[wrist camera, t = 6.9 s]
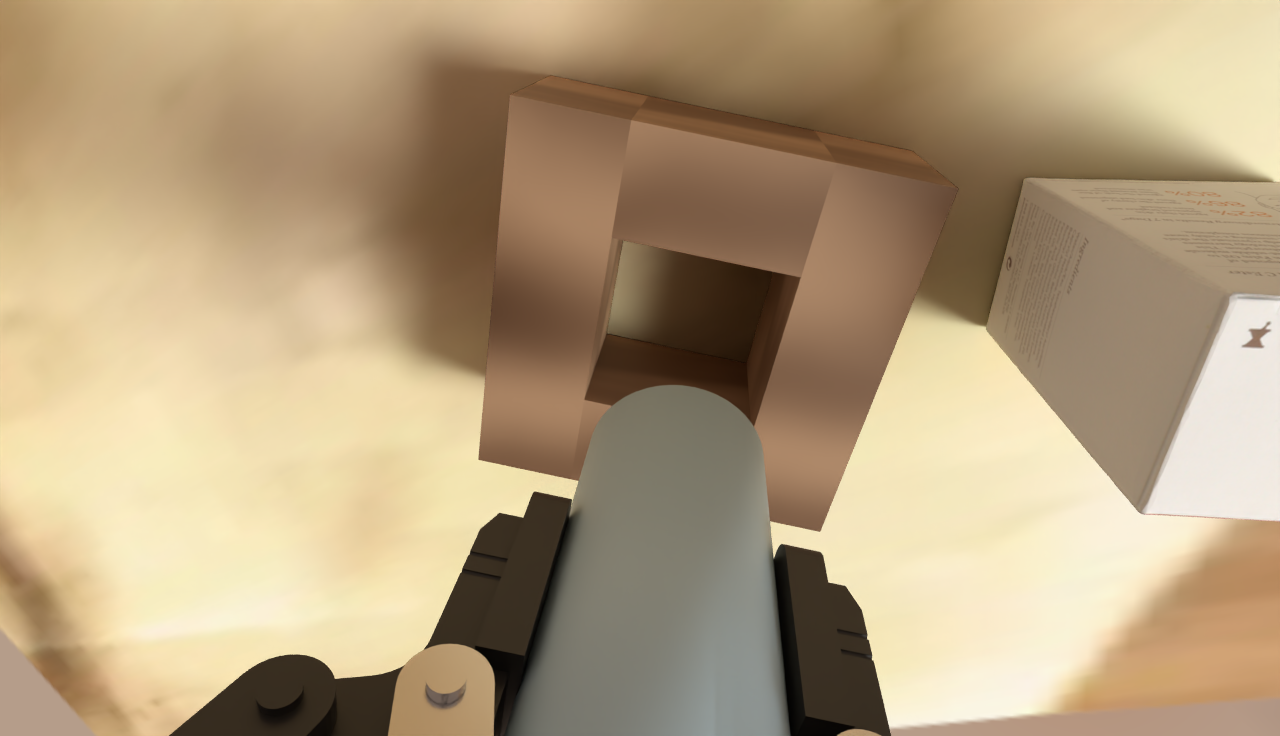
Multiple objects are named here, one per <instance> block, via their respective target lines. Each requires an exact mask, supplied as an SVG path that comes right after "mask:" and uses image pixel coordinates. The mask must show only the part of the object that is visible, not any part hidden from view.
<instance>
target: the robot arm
mask: <svg viewBox="0 0 1280 736" xmlns="http://www.w3.org/2000/svg"><path fill="white" fill-rule="evenodd" d="M571 503H572V499H568V498H563V497H558V496H553V495H549V494H544V493H539V492H534V493H533V494H532V497H531V499H530V502H529V505H528V507H527V510H526V512H525V515H524V518H522V517H517V516H512V515H507V514H502V513H499V514H498V515H497V516H495V517H494V518H493V519H492V520H491V521H490V522H488V523H487V524H486V525H485V526H484V527H482V528H481V529H480V531H479V533H478V535H477V538H476V540H475V542H474V544H473V546H472V549H471V551H470V555H468V557H467V560H466V562H465V564H464V566H463V569H462V573H460V575H459V577H458V580H457V582H456V584H455V586H454V589H453V591H452V593H451V595H450V597H449V600H448V602H447V604H446V606H445V608H444V611H443V613H442V615H441V617H440V620H439V622H438V624H437V626H436V628H435V631H434V633H433V635H432V637H431V639H430V641H429V643H428V645H427V646H426V647H425V649H424V650H423V651H421V652H419V653H418V654H416V655H415V656H414V657H412V658H411V659H410V660H409V661H408V662H407V663H406V664H405V665H404V666H402V667H401V668H398V669H396V670H394V671H391V672H388V673H384V674H380V675H373V676H363V677H352V678H341V679H335V678H334V675H333V673H332V671H331V670H330V669H329V668H328V666H327V665H325V664H324V663H323V662H321V661H320V660H318V659H316V658H313V657H310V656H306V655H284V656H278V657H275V658H271V659H268V660H266V661H264V662H261V663H259V664H257V665H256V666H254V667H252V668H251V669H249V670H248V671H246V672H245V673H244V674H242V675H241V676H240V677H239V678H238V679H236V680H235V681H234V682H233V683H232V684H230V685H229V686H228V687H227V688H226V689H224V690H223V691H222V692H221V693H220V694H218V695H217V696H216V697H215V698H214V699H212V700H211V701H210V702H209V703H208V704H206V705H205V706H204V707H203V708H202V709H200V710H199V711H198V712H197V713H196V714H194V715H193V716H192V717H191V718H190V719H188V720H187V721H186V722H185V723H184V724H182V725H181V726H180V727H179V728H178V729H176V730H175V731H174V732H173V733H172V734H170V735H169V736H504V734H505V731H506V727H507V724H508V720H509V717H510V714H511V710H512V707H513V703H514V700H515V697H516V695H517V693H518V691H519V689H520V686H521V682H522V679H523V675H524V672H525V668H526V665H527V661H528V658H529V654H530V651H531V648H532V644H533V641H534V637H535V634H536V630H537V627H538V623H539V620H540V617H541V613H542V610H543V606H544V603H545V599H546V596H547V592H548V589H549V586H550V582H551V579H552V575H553V572H554V568H555V565H556V561H557V558H558V554H559V551H560V548H561V544H562V541H563V537H564V534H565V530H566V527H567V523H568V520H569V515H570V510H571ZM774 569H775V579H776V589H777V600H778V610H779V620H780V631H781V641H782V651H783V662H784V672H785V682H786V693H787V703H788V713H789V724H790V734H791V736H891V733H890V729H889V725H888V721H887V716H886V712H885V708H884V703H883V699H882V695H881V691H880V686H879V682H878V678H877V674H876V669H875V665H874V661H872V652H871V648H870V644H869V640H867V631H866V626H865V622H864V618H863V614H862V610H861V608H860V607H859V605H858V604H857V602H856V601H855V600H854V598H853V597H852V595H851V594H850V592H849V591H848V589H847V588H846V586H842V585H837V584H833V583H828V579H827V574H826V568H825V563H824V558H823V555H822V553H821V552H817V551H813V550H808V549H803V548H798V547H794V546H789V545H784V544H781V545H780V546H779V548H778V550H777V552H776V555H775V557H774Z"/></svg>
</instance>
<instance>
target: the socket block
mask: <svg viewBox="0 0 1280 736" xmlns="http://www.w3.org/2000/svg"><path fill="white" fill-rule="evenodd" d="M958 189H959V188H957V187H956V186H955V185H954V184H952V183H951V182H950V181H949V180H947V179H946V178H945V177H944V176H943V175H941V174H940V173H939V172H938V171H936V170H935V169H934V168H933V167H932V166H930V165H929V164H928V163H927V162H925V161H924V160H923V159H922V158H921V157H919V156H918V155H917V154H916V153H914V152H913V151H910V150H905V149H900V148H895V147H891V146H886V145H881V144H876V143H871V142H867V141H862V140H857V139H852V138H847V137H843V136H838V135H833V134H828V133H824V132H819V131H814V130H809V129H804V128H800V127H795V126H790V125H785V124H780V123H776V122H771V121H766V120H761V119H757V118H752V117H747V116H742V115H737V114H733V113H728V112H723V111H718V110H713V109H709V108H704V107H699V106H694V105H689V104H685V103H680V102H675V101H670V100H666V99H661V98H656V97H651V96H646V95H642V94H637V93H632V92H627V91H622V90H618V89H613V88H608V87H603V86H598V85H594V84H589V83H584V82H579V81H575V80H570V79H565V78H560V77H555V76H549V77H546V78H544V79H542V80H540V81H538V82H536V83H534V84H532V85H530V86H527V87H525V88H523V89H521V90H519V91H517V92H515V93H513V94H511V95H510V100H509V112H508V123H507V135H506V146H505V158H504V170H503V181H502V193H501V204H500V216H499V227H498V239H497V251H496V262H495V274H494V285H493V297H492V309H491V320H490V332H489V343H488V355H487V366H486V378H485V390H484V401H483V413H482V424H481V436H480V448H479V459H478V460H482V461H487V462H492V463H497V464H501V465H506V466H511V467H516V468H520V469H525V470H530V471H535V472H539V473H544V474H549V475H554V476H558V477H563V478H568V479H572V480H577V481H579V478H580V475H581V471H582V468H583V465H584V461H585V458H586V454H587V451H588V448H589V444H590V441H591V437H592V434H593V432H594V430H595V427H596V425H597V424H598V422H599V420H600V419H601V417H602V416H603V415H604V414H605V413H606V411H607V410H608V409H609V408H611V407H612V406H613V405H614V404H615V403H616V402H618V401H619V400H621V399H623V398H624V397H626V396H628V395H630V394H632V393H634V392H636V391H640V390H643V389H646V388H650V387H655V386H663V385H683V386H690V387H696V388H699V389H703V390H706V391H709V392H711V393H714V394H716V395H718V396H720V397H722V398H724V399H726V400H727V401H729V402H730V403H732V404H733V405H734V406H736V407H737V408H738V409H739V410H740V411H741V412H742V413H743V414H745V416H746V417H747V418H748V419H749V421H750V422H751V423H752V425H753V426H754V428H755V430H756V431H757V433H758V436H759V438H760V441H761V444H762V448H763V455H764V465H765V476H766V486H767V496H768V507H769V517H770V521H772V522H776V523H781V524H786V525H791V526H795V527H800V528H805V529H810V530H814V531H819V532H820V531H821V528H822V526H823V523H824V521H825V518H826V516H827V513H828V511H829V508H830V506H831V503H832V501H833V498H834V496H835V494H836V491H837V489H838V486H839V484H840V481H841V479H842V476H843V474H844V471H845V469H846V466H847V464H848V461H849V459H850V456H851V454H852V451H853V449H854V446H855V444H856V441H857V439H858V437H859V434H860V432H861V429H862V427H863V424H864V422H865V419H866V417H867V414H868V412H869V409H870V407H871V404H872V402H873V399H874V397H875V394H876V392H877V389H878V387H879V384H880V382H881V380H882V377H883V375H884V372H885V370H886V367H887V365H888V362H889V360H890V357H891V355H892V352H893V350H894V347H895V345H896V342H897V340H898V337H899V335H900V332H901V330H902V327H903V325H904V323H905V320H906V318H907V315H908V313H909V310H910V308H911V305H912V303H913V300H914V298H915V295H916V293H917V290H918V288H919V285H920V283H921V280H922V278H923V275H924V273H925V270H926V268H927V266H928V263H929V261H930V258H931V256H932V253H933V251H934V248H935V246H936V243H937V241H938V238H939V236H940V233H941V231H942V228H943V226H944V223H945V221H946V218H947V216H948V214H949V211H950V209H951V206H952V204H953V201H954V199H955V196H956V194H957V191H958ZM623 240H624V241H629V242H634V243H639V244H643V245H648V246H653V247H658V248H663V249H667V250H672V251H677V252H682V253H686V254H691V255H696V256H701V257H705V258H710V259H715V260H720V261H725V262H729V263H734V264H739V265H744V266H748V267H753V268H758V269H763V270H768V271H772V272H773V275H772V278H771V281H770V285H769V288H768V292H767V295H766V298H765V302H764V305H763V309H762V312H761V316H760V319H759V322H758V326H757V329H756V333H755V336H754V340H753V343H752V346H751V350H750V353H749V357H748V360H747V363H742V362H738V361H733V360H728V359H723V358H719V357H714V356H709V355H704V354H700V353H695V352H690V351H685V350H681V349H676V348H671V347H666V346H661V345H657V344H652V343H647V342H642V341H638V340H633V339H628V338H623V337H619V336H614V335H609V334H607V328H608V322H609V317H610V311H611V305H612V300H613V294H614V288H615V283H616V277H617V271H618V266H619V260H620V255H621V249H622V243H623Z"/></svg>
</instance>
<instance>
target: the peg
mask: <svg viewBox="0 0 1280 736" xmlns="http://www.w3.org/2000/svg"><path fill="white" fill-rule="evenodd" d="M504 736H791V734H790V724H789V713H788V703H787V693H786V682H785V672H784V662H783V651H782V641H781V631H780V620H779V610H778V600H777V589H776V579H775V569H774V558H773V548H772V538H771V527H770V517H769V507H768V496H767V486H766V476H765V465H764V455H763V448H762V444H761V441H760V438H759V436H758V433H757V431H756V430H755V428H754V426H753V425H752V423H751V422H750V421H749V419H748V418H747V417H746V416H745V414H743V413H742V412H741V411H740V410H739V409H738V408H737V407H736V406H734V405H733V404H732V403H730V402H729V401H727V400H726V399H724V398H722V397H720V396H718V395H716V394H714V393H711V392H709V391H706V390H703V389H699V388H696V387H690V386H683V385H663V386H655V387H650V388H646V389H643V390H640V391H636V392H634V393H632V394H630V395H628V396H626V397H624V398H623V399H621V400H619V401H618V402H616V403H615V404H614V405H613V406H612V407H611V408H609V409H608V410H607V411H606V413H605V414H604V415H603V416H602V417H601V419H600V420H599V422H598V424H597V425H596V427H595V430H594V432H593V434H592V437H591V441H590V444H589V448H588V451H587V454H586V458H585V461H584V465H583V468H582V471H581V475H580V478H579V482H578V485H577V489H576V492H575V495H574V499H573V502H572V506H571V510H570V515H569V520H568V523H567V527H566V530H565V534H564V537H563V541H562V544H561V548H560V551H559V554H558V558H557V561H556V565H555V568H554V572H553V575H552V579H551V582H550V586H549V589H548V592H547V596H546V599H545V603H544V606H543V610H542V613H541V617H540V620H539V623H538V627H537V630H536V634H535V637H534V641H533V644H532V648H531V651H530V654H529V658H528V661H527V665H526V668H525V672H524V675H523V679H522V682H521V686H520V689H519V691H518V693H517V695H516V697H515V700H514V703H513V707H512V710H511V714H510V717H509V720H508V724H507V727H506V731H505V734H504Z"/></svg>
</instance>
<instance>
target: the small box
mask: <svg viewBox="0 0 1280 736" xmlns="http://www.w3.org/2000/svg"><path fill="white" fill-rule="evenodd" d="M986 330H987V332H988V333H989V334H990V336H991V337H992V338H993V339H994V340H995V341H996V343H997V344H998V345H999V346H1000V348H1001V349H1002V350H1003V351H1004V352H1005V354H1006V355H1007V356H1008V357H1009V358H1010V360H1011V361H1012V362H1013V363H1014V364H1015V365H1016V366H1017V368H1018V369H1019V370H1020V372H1021V373H1022V374H1023V375H1024V377H1025V378H1026V379H1027V380H1028V381H1029V382H1030V383H1031V384H1032V386H1033V387H1034V388H1035V389H1036V390H1037V392H1038V393H1039V394H1040V395H1041V396H1042V398H1043V399H1044V400H1045V401H1046V403H1047V404H1048V405H1049V406H1050V407H1051V409H1052V410H1053V411H1054V412H1055V413H1056V414H1057V416H1058V417H1059V418H1060V419H1061V420H1062V421H1063V423H1064V424H1065V425H1066V426H1067V428H1068V429H1069V430H1070V431H1071V432H1072V434H1073V435H1074V436H1075V437H1076V438H1077V440H1078V441H1079V442H1080V443H1081V444H1082V446H1083V447H1084V448H1085V449H1086V450H1087V452H1088V453H1089V454H1090V455H1091V456H1092V457H1093V459H1094V460H1095V461H1096V462H1097V463H1098V465H1099V466H1100V467H1101V468H1102V469H1103V470H1104V472H1105V473H1106V474H1107V475H1108V476H1109V477H1110V478H1111V480H1112V481H1113V482H1114V484H1115V485H1116V486H1117V487H1118V488H1119V490H1120V491H1121V492H1122V493H1123V494H1124V495H1125V496H1126V498H1127V499H1128V500H1129V501H1130V502H1131V504H1132V505H1133V506H1134V507H1135V508H1136V510H1137V511H1138V512H1139V513H1141V514H1144V515H1169V516H1188V517H1205V518H1221V519H1244V520H1260V521H1279V522H1280V182H1215V181H1154V180H1114V179H1053V178H1025V179H1024V181H1023V185H1022V190H1021V194H1020V198H1019V201H1018V205H1017V209H1016V213H1015V217H1014V221H1013V225H1012V228H1011V232H1010V236H1009V240H1008V244H1007V248H1006V252H1005V256H1004V260H1003V264H1002V267H1001V271H1000V275H999V279H998V283H997V287H996V291H995V295H994V298H993V302H992V306H991V310H990V314H989V318H988V322H987V326H986Z"/></svg>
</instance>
